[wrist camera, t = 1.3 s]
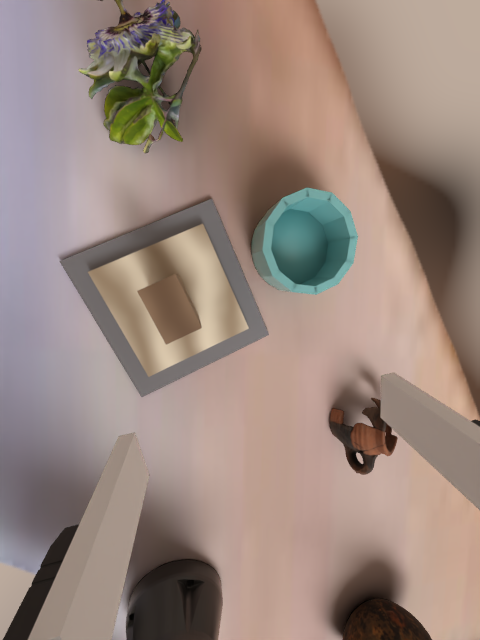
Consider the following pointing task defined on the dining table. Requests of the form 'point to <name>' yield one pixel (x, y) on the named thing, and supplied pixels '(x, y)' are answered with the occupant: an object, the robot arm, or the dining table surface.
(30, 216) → the dining table surface
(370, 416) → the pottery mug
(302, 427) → the dining table surface
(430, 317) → the dining table surface
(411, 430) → the robot arm
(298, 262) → the bowl
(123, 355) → the mat
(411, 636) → the glass bottle
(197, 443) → the dining table surface
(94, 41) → the passion flower
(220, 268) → the lid
